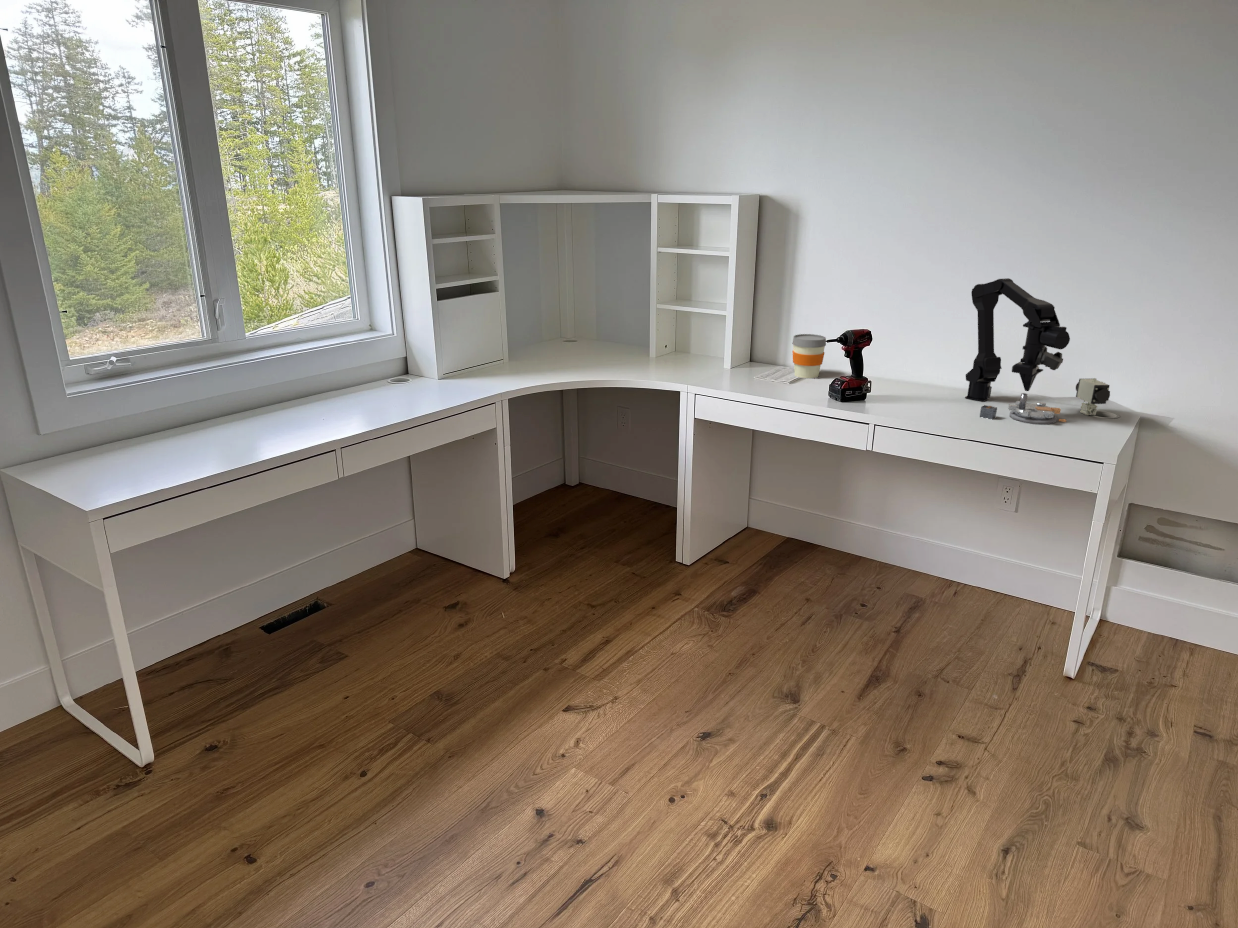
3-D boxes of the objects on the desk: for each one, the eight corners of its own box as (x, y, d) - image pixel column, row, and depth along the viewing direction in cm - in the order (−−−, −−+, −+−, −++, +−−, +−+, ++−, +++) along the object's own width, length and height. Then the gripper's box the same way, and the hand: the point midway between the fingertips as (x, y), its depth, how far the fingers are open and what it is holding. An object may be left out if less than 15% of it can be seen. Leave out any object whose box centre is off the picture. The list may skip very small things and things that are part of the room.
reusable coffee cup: (783, 375, 320) (786, 336, 315) (803, 370, 328) (806, 332, 323) (809, 381, 311) (813, 341, 306) (829, 376, 319) (833, 337, 314)
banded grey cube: (979, 417, 268) (981, 406, 267) (982, 415, 270) (984, 404, 269) (992, 419, 265) (993, 409, 264) (995, 417, 268) (997, 407, 266)
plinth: (1003, 418, 267) (1003, 415, 266) (1017, 409, 276) (1018, 407, 276) (1056, 428, 256) (1056, 425, 256) (1069, 419, 266) (1070, 416, 266)
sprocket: (1028, 422, 258) (1032, 400, 256) (999, 408, 272) (1002, 388, 270) (1068, 420, 261) (1073, 398, 258) (1037, 407, 275) (1041, 386, 272)
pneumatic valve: (1091, 419, 266) (1099, 383, 262) (1070, 409, 277) (1077, 374, 273) (1108, 419, 267) (1115, 382, 262) (1086, 409, 278) (1093, 374, 273)
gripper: (1053, 351, 251) (1044, 401, 256) (1071, 342, 264) (1062, 389, 269) (1015, 346, 258) (1007, 394, 263) (1034, 337, 271) (1026, 384, 276)
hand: (1027, 390), depth 268 cm, fingers closed
